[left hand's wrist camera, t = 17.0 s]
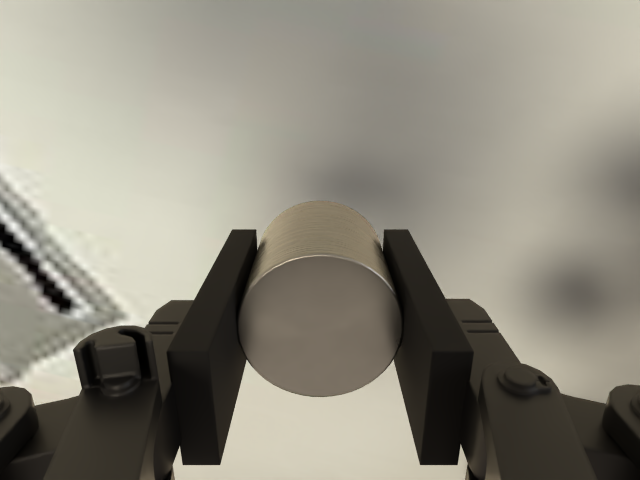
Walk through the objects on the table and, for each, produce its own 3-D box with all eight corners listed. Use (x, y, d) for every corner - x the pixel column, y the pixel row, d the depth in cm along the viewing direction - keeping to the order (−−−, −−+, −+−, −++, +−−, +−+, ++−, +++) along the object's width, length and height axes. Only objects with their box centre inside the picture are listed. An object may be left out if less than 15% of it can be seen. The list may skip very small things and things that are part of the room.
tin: (311, 333, 16) (308, 423, 12) (232, 251, 15) (200, 319, 11) (406, 268, 15) (437, 341, 11) (330, 174, 14) (334, 218, 10)
